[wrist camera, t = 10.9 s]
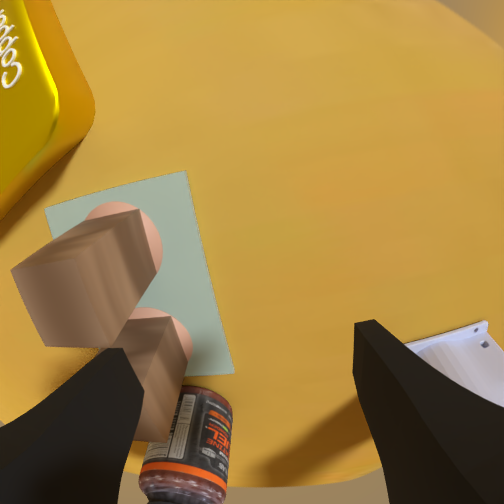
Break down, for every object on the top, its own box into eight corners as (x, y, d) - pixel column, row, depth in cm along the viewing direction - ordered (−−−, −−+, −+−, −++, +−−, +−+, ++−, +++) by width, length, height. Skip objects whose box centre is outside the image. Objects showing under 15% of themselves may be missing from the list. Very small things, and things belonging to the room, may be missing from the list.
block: (171, 315, 19) (137, 396, 12) (188, 362, 20) (167, 443, 14) (118, 320, 19) (73, 392, 13) (138, 363, 21) (107, 436, 14)
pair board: (186, 170, 16) (183, 171, 15) (234, 369, 21) (234, 374, 21) (47, 207, 17) (43, 209, 16) (115, 373, 22) (113, 377, 21)
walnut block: (139, 208, 16) (74, 258, 10) (156, 273, 18) (110, 347, 11) (83, 221, 16) (10, 270, 10) (102, 280, 18) (45, 346, 11)
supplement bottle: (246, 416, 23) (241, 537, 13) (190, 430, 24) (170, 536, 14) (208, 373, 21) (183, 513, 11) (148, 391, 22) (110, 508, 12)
